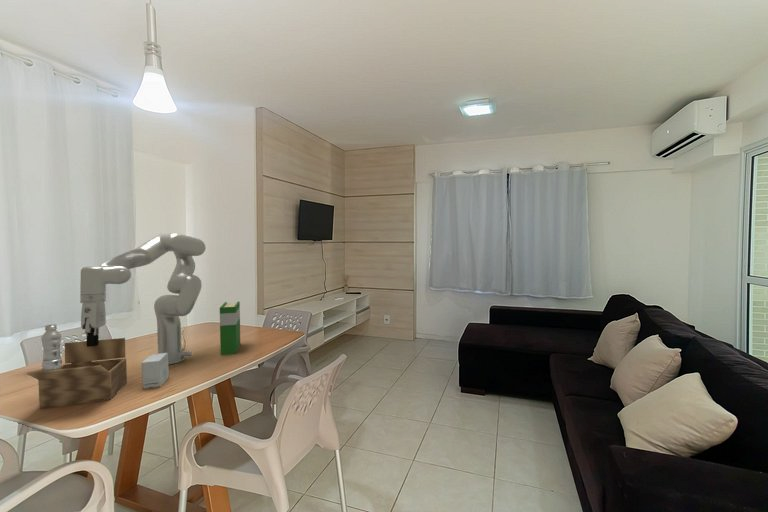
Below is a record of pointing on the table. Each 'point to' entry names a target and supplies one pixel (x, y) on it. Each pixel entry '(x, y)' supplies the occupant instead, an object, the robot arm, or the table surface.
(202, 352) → the table surface
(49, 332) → the plastic bottle
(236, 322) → the hardback book
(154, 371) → the skincare box
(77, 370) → the left flap
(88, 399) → the carton
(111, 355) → the right flap
